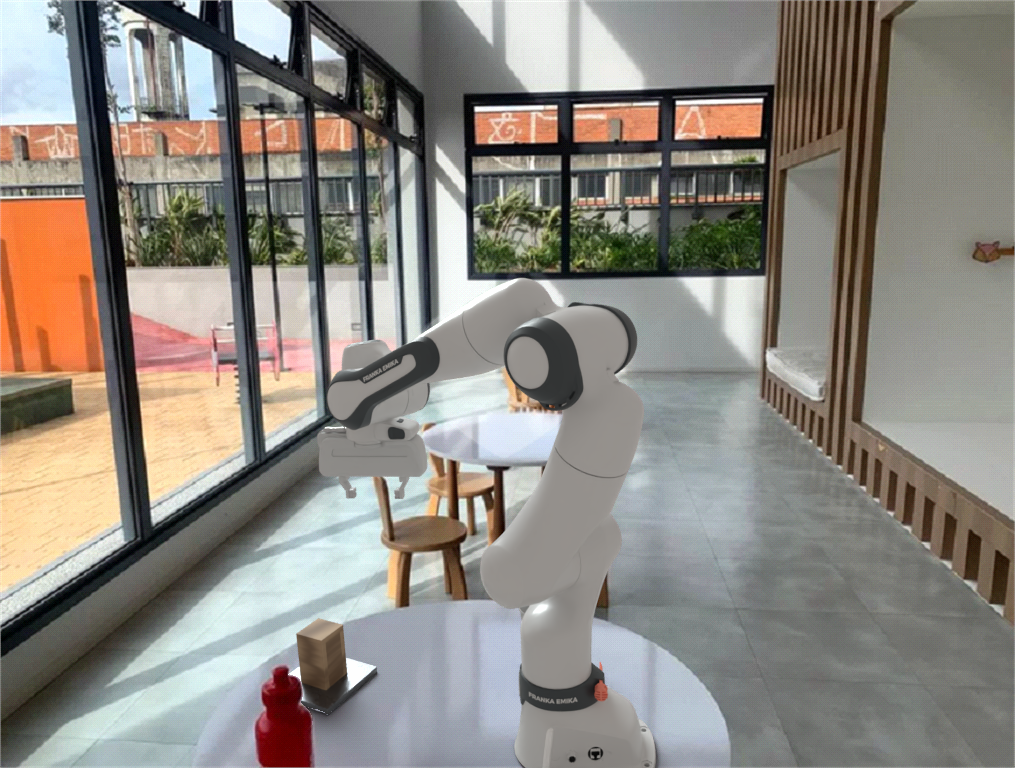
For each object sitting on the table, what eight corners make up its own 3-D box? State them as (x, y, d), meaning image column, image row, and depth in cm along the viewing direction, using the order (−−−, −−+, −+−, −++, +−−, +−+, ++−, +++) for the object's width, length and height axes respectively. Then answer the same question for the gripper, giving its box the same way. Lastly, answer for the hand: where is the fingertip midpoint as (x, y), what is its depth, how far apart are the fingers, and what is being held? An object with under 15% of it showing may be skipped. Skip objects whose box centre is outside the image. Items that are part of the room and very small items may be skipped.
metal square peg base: (377, 672, 138) (374, 643, 136) (328, 715, 125) (325, 683, 124) (321, 655, 144) (318, 627, 143) (269, 694, 132) (266, 664, 131)
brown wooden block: (347, 672, 136) (343, 624, 134) (326, 690, 131) (321, 640, 129) (322, 665, 138) (318, 618, 137) (301, 682, 133) (296, 633, 131)
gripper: (309, 431, 130) (316, 503, 133) (419, 431, 128) (423, 504, 130) (322, 422, 136) (328, 491, 139) (427, 422, 134) (431, 492, 136)
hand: (375, 497), depth 135 cm, fingers open, 8 cm apart
